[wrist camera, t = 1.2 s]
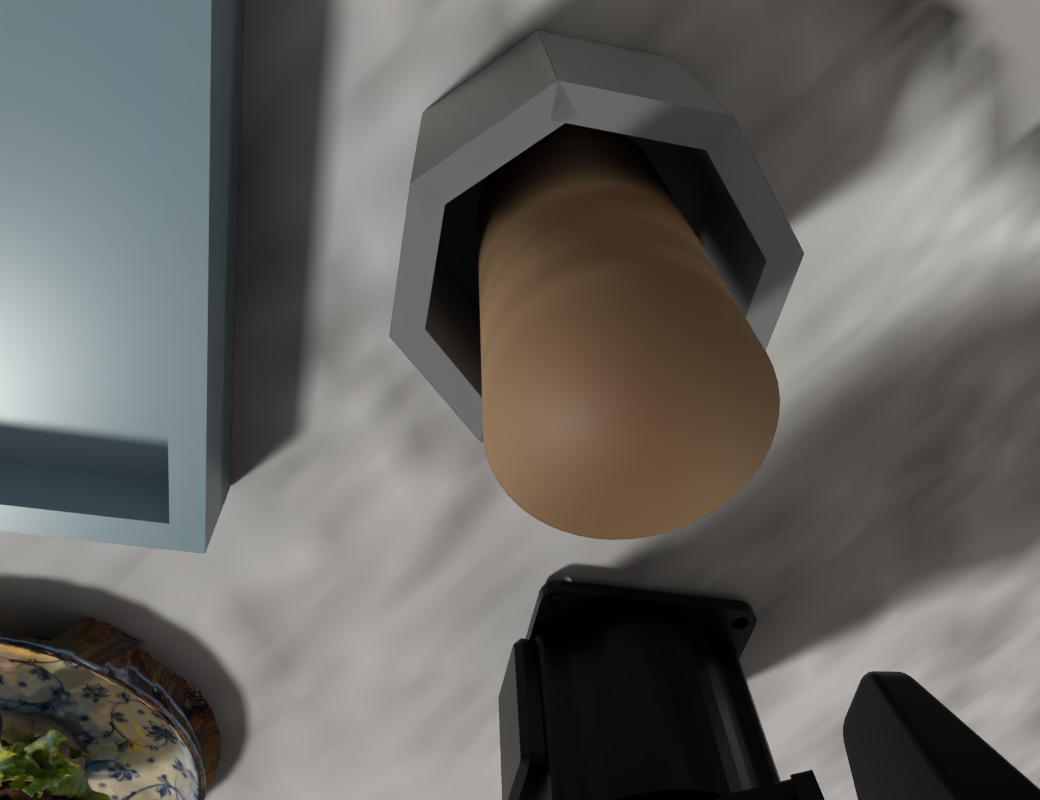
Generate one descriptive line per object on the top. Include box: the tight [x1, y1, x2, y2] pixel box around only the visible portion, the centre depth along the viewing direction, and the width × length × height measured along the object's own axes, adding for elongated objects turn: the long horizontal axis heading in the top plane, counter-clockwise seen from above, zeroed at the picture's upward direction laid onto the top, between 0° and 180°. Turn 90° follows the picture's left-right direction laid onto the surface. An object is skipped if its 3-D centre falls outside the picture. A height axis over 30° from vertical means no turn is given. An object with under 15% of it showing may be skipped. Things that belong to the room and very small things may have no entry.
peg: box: [477, 123, 780, 540], centre depth 15 cm, size 4×4×8 cm
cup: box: [389, 30, 804, 442], centre depth 17 cm, size 7×7×4 cm
